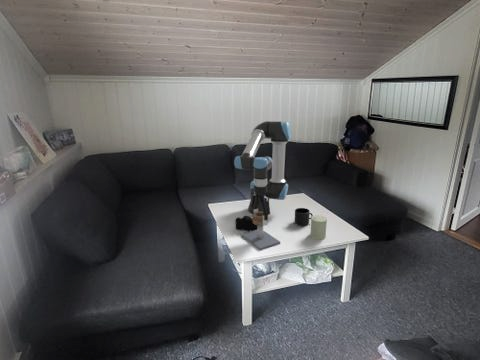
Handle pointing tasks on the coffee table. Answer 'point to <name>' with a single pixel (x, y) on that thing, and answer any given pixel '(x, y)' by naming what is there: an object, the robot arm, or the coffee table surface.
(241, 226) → the film camera
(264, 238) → the post board
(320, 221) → the can
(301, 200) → the coffee table surface
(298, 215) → the mug
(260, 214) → the collar
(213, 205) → the coffee table surface
